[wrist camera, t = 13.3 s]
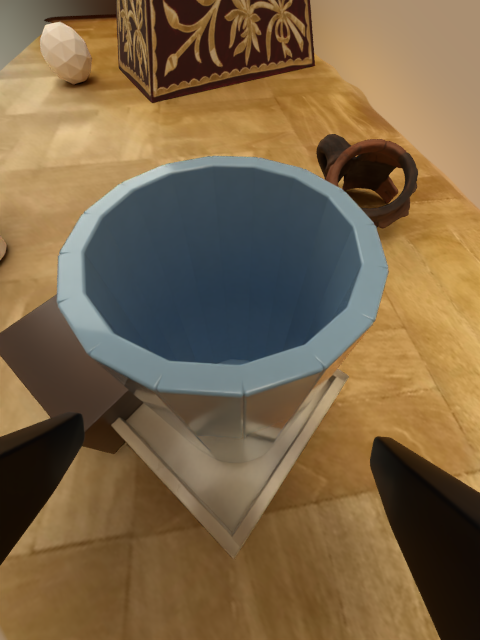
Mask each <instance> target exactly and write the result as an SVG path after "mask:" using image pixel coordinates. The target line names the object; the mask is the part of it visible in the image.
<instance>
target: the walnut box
mask: <svg viewBox="0 0 480 640" xmlns="http://www.w3.org/2000/svg"><path fill="white" fill-rule="evenodd" d="M0 356H1V357H2V358H3V359H4V361H5V362H6V363H7V364H8V366H9V367H10V368H11V369H12V371H13V372H14V373H15V374H16V375H17V377H18V378H19V379H20V380H21V382H22V383H23V384H24V385H25V387H26V388H27V389H28V390H29V391H30V393H31V394H32V395H33V396H34V398H35V399H36V400H37V401H38V402H39V404H40V405H41V406H42V407H43V409H44V410H45V411H46V412H47V414H48V415H49V416H50V417H51V418H53V417H56V416H59V415H61V414H64V413H67V412H74V413H81V414H82V415H83V420H84V431H85V440H84V443H83V445H82V446H83V447H87V448H91V449H95V450H99V451H103V452H107V453H111V454H114V453H115V452H116V451H117V450H118V449H119V448H120V447H121V446H122V445H123V444H124V443H125V442H126V443H127V444H128V445H129V446H130V447H131V448H132V449H133V450H134V451H135V452H136V454H137V455H138V456H139V457H140V458H141V459H142V460H143V461H144V462H145V463H146V464H147V466H148V467H149V468H150V469H151V470H152V471H153V472H154V473H155V474H156V475H157V476H158V478H159V479H160V480H161V481H162V482H163V483H164V484H165V485H166V486H167V487H168V489H169V490H170V491H171V492H172V493H173V494H174V495H175V496H176V497H177V498H178V499H179V501H180V502H181V503H182V504H183V505H184V506H185V507H186V508H187V509H188V510H189V511H190V513H191V514H192V515H193V516H194V517H195V518H196V519H197V520H198V521H199V522H200V524H201V525H202V526H203V527H204V528H205V529H206V530H207V531H208V532H209V533H210V534H211V536H212V537H213V538H214V539H215V540H216V541H217V542H218V543H219V544H220V545H221V546H222V548H223V549H224V550H225V551H226V552H227V553H228V554H229V555H230V556H231V557H232V559H235V558H236V556H237V554H238V553H239V551H240V550H241V548H242V546H243V545H244V543H245V542H246V540H247V538H248V537H249V535H250V534H251V532H252V531H253V529H254V527H255V526H256V524H257V523H258V521H259V519H260V518H261V516H262V515H263V513H264V511H265V510H266V508H267V507H268V505H269V503H270V502H271V500H272V499H273V497H274V495H275V494H276V492H277V491H278V489H279V488H280V486H281V484H282V483H283V481H284V480H285V478H286V476H287V475H288V473H289V472H290V470H291V468H292V467H293V465H294V464H295V462H296V460H297V459H298V457H299V456H300V454H301V453H302V451H303V449H304V448H305V446H306V445H307V443H308V441H309V440H310V438H311V437H312V435H313V433H314V432H315V430H316V429H317V427H318V425H319V424H320V422H321V421H322V419H323V418H324V416H325V414H326V413H327V411H328V410H329V408H330V406H331V405H332V403H333V402H334V400H335V398H336V397H337V395H338V394H339V392H340V390H341V389H342V387H343V386H344V384H345V383H346V381H347V379H348V378H349V376H348V375H347V374H345V373H344V372H342V371H341V370H339V369H337V370H336V371H335V372H334V373H333V375H332V376H331V377H330V378H329V380H328V381H327V382H326V383H325V385H324V386H323V387H322V388H321V390H320V391H319V392H318V393H317V395H316V396H315V397H314V398H313V400H312V401H311V402H310V403H309V404H308V406H307V407H306V408H305V409H304V411H303V412H302V413H301V414H300V416H299V417H298V418H297V419H296V421H295V422H294V423H293V424H292V426H291V427H290V428H289V429H288V431H287V432H286V433H285V434H284V435H283V437H282V438H281V439H280V440H279V441H278V442H277V443H276V444H275V445H274V446H273V448H271V449H270V450H269V451H268V452H267V453H266V454H265V455H263V456H261V457H259V458H257V459H254V460H252V461H248V462H245V463H227V462H221V461H217V460H216V459H214V458H212V457H210V456H208V455H207V454H205V453H203V452H202V451H200V450H199V449H197V448H196V447H195V446H194V445H193V444H192V443H190V442H189V441H188V440H187V439H186V438H184V437H183V436H182V435H181V434H180V433H179V432H177V431H176V430H175V429H174V428H173V427H172V426H170V425H169V424H168V423H167V422H166V421H165V420H163V419H162V418H161V417H160V416H159V415H157V414H156V413H155V412H154V411H153V410H152V409H150V408H149V407H148V406H147V405H146V404H145V403H143V402H142V401H141V400H140V399H139V398H138V397H136V396H135V395H134V394H133V393H132V392H130V391H129V390H128V389H127V388H126V387H125V386H123V385H122V384H121V383H120V382H119V381H118V380H116V379H115V378H114V377H113V376H112V375H111V374H109V373H108V372H107V371H106V370H105V369H104V368H102V367H101V366H100V365H99V364H98V363H96V362H95V361H94V360H93V359H92V358H91V357H90V356H89V355H87V354H86V352H85V350H84V349H83V347H82V346H81V344H80V342H79V341H78V339H77V337H76V336H75V334H74V333H73V331H72V329H71V328H70V326H69V325H68V323H67V321H66V320H65V318H64V316H63V315H62V313H61V312H60V310H59V308H58V304H57V294H56V295H55V296H53V297H52V298H51V299H49V300H48V301H46V302H45V303H43V304H42V305H40V306H39V307H37V308H36V309H34V310H33V311H32V312H30V313H29V314H27V315H26V316H24V317H23V318H21V319H20V320H18V321H17V322H15V323H14V324H12V325H11V326H10V327H8V328H7V329H5V330H4V331H2V332H1V333H0Z"/></svg>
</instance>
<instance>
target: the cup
mask: <svg viewBox="0 0 480 640" xmlns="http://www.w3.org/2000/svg"><path fill="white" fill-rule="evenodd" d="M6 246H7V245H6V243H5V241H4V240H3V238H2V237H1V236H0V260H1V259H2V257H3V256H4V254H5V252H6Z"/></svg>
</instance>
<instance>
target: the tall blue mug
mask: <svg viewBox="0 0 480 640" xmlns="http://www.w3.org/2000/svg"><path fill="white" fill-rule="evenodd" d="M59 254H60V255H59V256H58V275H57V304H58V308H59V310H60V312H61V313H62V315H63V316H64V318H65V320H66V321H67V323H68V325H69V326H70V328H71V329H72V331H73V333H74V334H75V336H76V337H77V339H78V341H79V342H80V344H81V346H82V347H83V349H84V350H85V352H86V354H87V355H89V356H90V357H91V358H92V359H93V360H94V361H95V362H96V363H98V364H99V365H100V366H101V367H102V368H104V369H105V370H106V371H107V372H108V373H109V374H111V375H112V376H113V377H114V378H115V379H116V380H118V381H119V382H120V383H121V384H122V385H123V386H125V387H126V388H127V389H128V390H129V391H130V392H132V393H133V394H134V395H135V396H136V397H138V398H139V399H140V400H141V401H142V402H143V403H145V404H146V405H147V406H148V407H149V408H150V409H152V410H153V411H154V412H155V413H156V414H157V415H159V416H160V417H161V418H162V419H163V420H165V421H166V422H167V423H168V424H169V425H170V426H172V427H173V428H174V429H175V430H176V431H177V432H179V433H180V434H181V435H182V436H183V437H184V438H186V439H187V440H188V441H189V442H190V443H192V444H193V445H194V446H195V447H196V448H197V449H199V450H200V451H202V452H203V453H205V454H207V455H208V456H210V457H212V458H214V459H216V460H217V461H221V462H227V463H245V462H248V461H252V460H254V459H257V458H259V457H261V456H263V455H265V454H266V453H267V452H268V451H269V450H270V449H271V448H273V446H274V445H275V444H276V443H277V442H278V441H279V440H280V439H281V438H282V437H283V435H284V434H285V433H286V432H287V431H288V429H289V428H290V427H291V426H292V424H293V423H294V422H295V421H296V419H297V418H298V417H299V416H300V414H301V413H302V412H303V411H304V409H305V408H306V407H307V406H308V404H309V403H310V402H311V401H312V400H313V398H314V397H315V396H316V395H317V393H318V392H319V391H320V390H321V388H322V387H323V386H324V385H325V383H326V382H327V381H328V380H329V378H330V377H331V376H332V375H333V373H334V372H335V371H336V370H337V368H338V367H339V366H340V365H341V364H342V362H343V361H344V360H345V359H346V357H347V356H348V355H349V354H350V352H351V351H352V350H353V349H354V347H355V346H356V345H357V344H358V342H359V341H360V340H361V339H362V337H363V336H364V335H365V334H366V333H367V331H368V330H369V329H370V328H371V326H372V325H373V323H374V322H375V320H376V316H377V313H378V309H379V305H380V302H381V298H382V294H383V291H384V287H385V283H386V280H387V276H388V265H387V261H386V258H385V255H384V251H383V248H382V245H381V241H380V238H379V235H378V231H377V228H376V226H375V225H374V222H373V221H372V220H371V219H370V218H369V217H368V216H367V215H366V214H365V212H364V211H363V210H362V209H361V208H360V207H359V206H358V205H357V204H356V203H355V202H354V200H353V199H352V198H351V197H350V196H349V195H348V194H347V193H346V192H344V190H343V189H341V188H339V187H337V186H335V185H334V184H332V183H330V182H328V181H326V180H324V179H323V178H321V177H319V176H317V175H315V174H313V173H312V172H310V171H308V170H306V169H303V168H300V167H296V166H292V165H288V164H284V163H280V162H276V161H272V160H268V159H264V158H257V157H235V156H212V157H211V156H207V157H202V158H196V159H191V160H185V161H180V162H174V163H169V164H165V165H161V166H159V167H157V168H154V169H152V170H150V171H147V172H145V173H143V174H140V175H138V176H136V177H133V178H131V179H128V180H126V181H124V182H122V183H121V184H118V185H117V186H116V187H115V188H113V189H112V190H111V191H109V192H108V193H107V194H106V195H104V196H103V197H102V198H101V199H99V200H98V201H97V202H96V203H94V204H93V205H92V206H91V207H89V208H88V209H87V210H86V211H84V214H82V215H81V216H80V218H79V220H78V221H77V223H76V225H75V227H74V228H73V230H72V232H71V233H70V235H69V237H68V238H67V240H66V242H65V243H64V245H63V247H62V248H61V250H60V252H59Z"/></svg>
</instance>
